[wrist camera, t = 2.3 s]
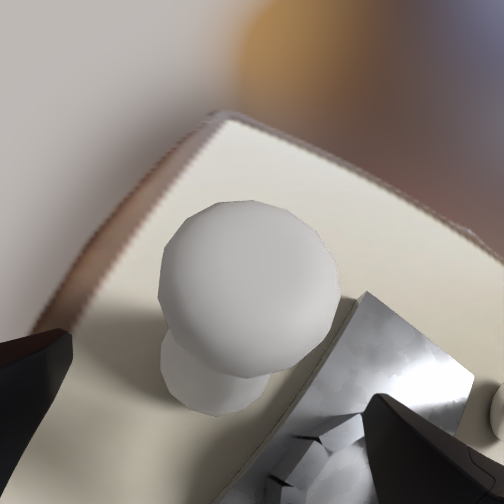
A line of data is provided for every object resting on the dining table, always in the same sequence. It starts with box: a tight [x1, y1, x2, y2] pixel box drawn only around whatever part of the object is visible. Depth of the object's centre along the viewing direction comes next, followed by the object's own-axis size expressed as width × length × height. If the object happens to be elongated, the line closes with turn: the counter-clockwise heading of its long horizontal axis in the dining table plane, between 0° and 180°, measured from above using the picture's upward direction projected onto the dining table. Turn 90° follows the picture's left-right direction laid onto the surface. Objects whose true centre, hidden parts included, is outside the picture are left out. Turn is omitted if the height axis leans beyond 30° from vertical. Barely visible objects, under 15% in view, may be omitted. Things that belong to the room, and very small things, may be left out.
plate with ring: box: [211, 291, 474, 504], centre depth 12 cm, size 24×12×4 cm, turn 144°
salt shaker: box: [158, 200, 341, 417], centre depth 12 cm, size 6×6×13 cm
